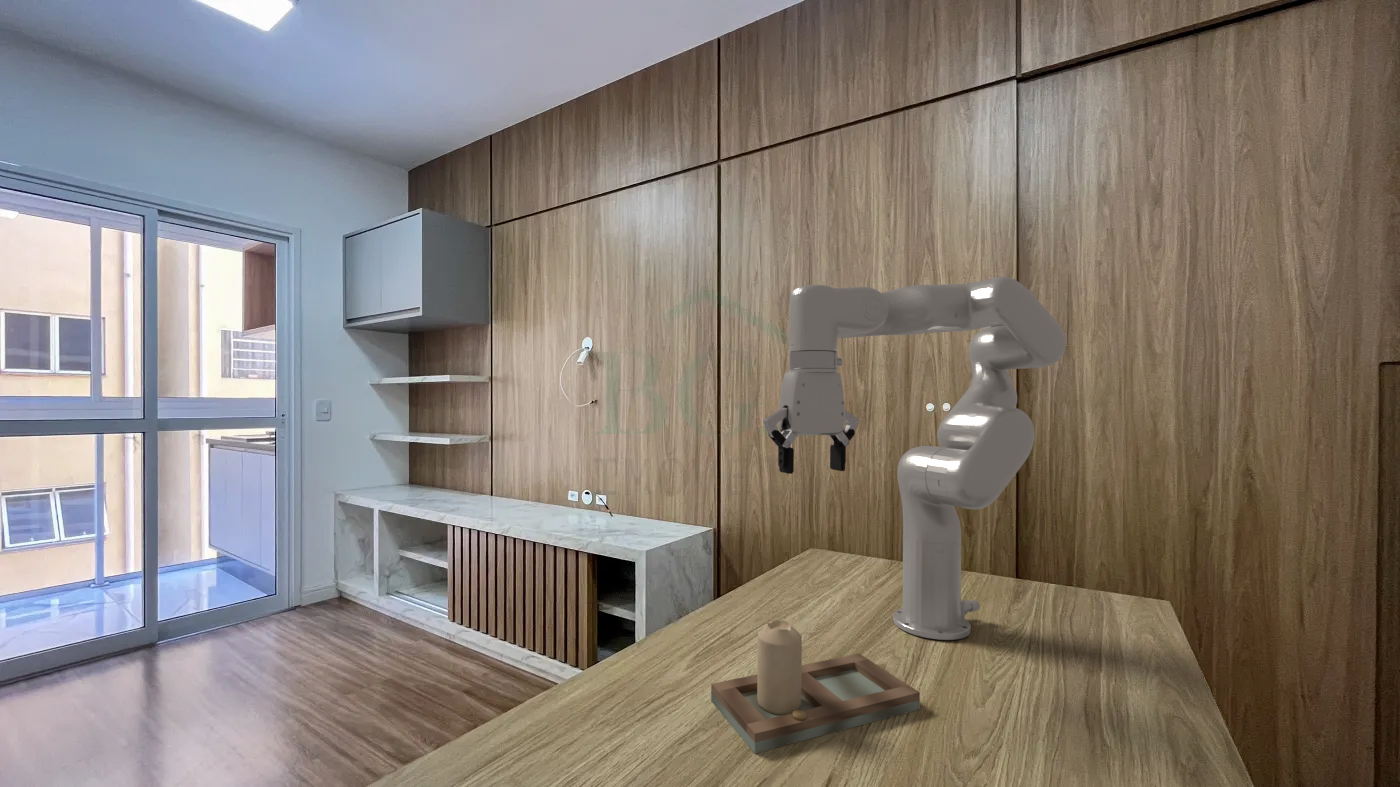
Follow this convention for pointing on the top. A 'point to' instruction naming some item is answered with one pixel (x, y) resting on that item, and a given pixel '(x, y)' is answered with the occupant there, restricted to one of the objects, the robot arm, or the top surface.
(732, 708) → the divided tray
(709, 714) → the top surface
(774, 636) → the candle
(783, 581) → the top surface
